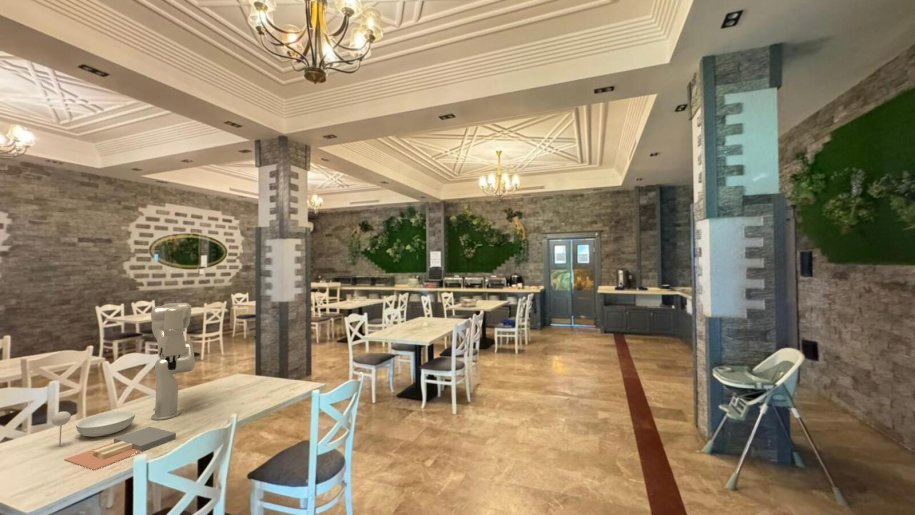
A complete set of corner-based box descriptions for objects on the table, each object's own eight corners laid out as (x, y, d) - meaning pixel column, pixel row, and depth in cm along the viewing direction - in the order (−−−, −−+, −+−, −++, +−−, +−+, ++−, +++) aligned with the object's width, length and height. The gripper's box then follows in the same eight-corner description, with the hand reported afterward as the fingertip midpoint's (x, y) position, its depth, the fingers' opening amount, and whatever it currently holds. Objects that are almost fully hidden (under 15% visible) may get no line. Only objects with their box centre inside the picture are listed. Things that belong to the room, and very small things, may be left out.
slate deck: (113, 444, 165) (114, 438, 165) (149, 431, 178) (149, 426, 178) (140, 451, 158) (141, 445, 158) (175, 438, 171) (176, 433, 171)
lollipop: (72, 444, 165) (74, 410, 166) (54, 450, 159) (56, 415, 160) (64, 442, 167) (66, 408, 168) (46, 447, 161) (48, 413, 162)
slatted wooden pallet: (92, 455, 153) (92, 450, 154) (121, 445, 163) (121, 440, 163) (103, 459, 151) (103, 454, 151) (132, 448, 160) (132, 443, 160)
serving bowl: (66, 445, 164) (66, 430, 164) (86, 428, 182) (87, 414, 182) (126, 436, 173) (127, 421, 173) (140, 421, 192) (141, 407, 192)
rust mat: (64, 460, 151) (64, 459, 151) (112, 443, 165) (112, 442, 165) (94, 470, 142) (94, 469, 142) (142, 452, 157) (142, 451, 157)
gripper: (184, 330, 193) (182, 365, 192) (151, 334, 179) (150, 372, 178) (193, 331, 190) (192, 366, 189) (161, 335, 176) (159, 373, 175)
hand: (171, 369), depth 183 cm, fingers closed
